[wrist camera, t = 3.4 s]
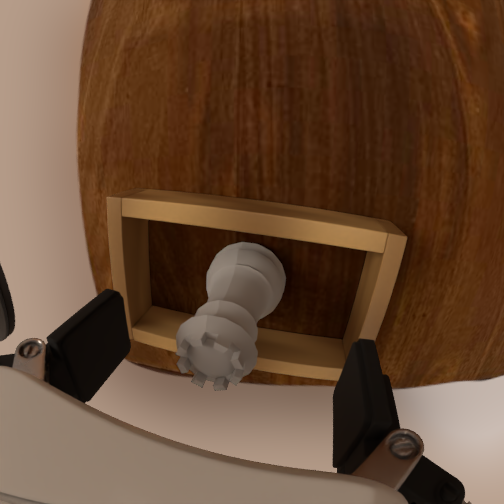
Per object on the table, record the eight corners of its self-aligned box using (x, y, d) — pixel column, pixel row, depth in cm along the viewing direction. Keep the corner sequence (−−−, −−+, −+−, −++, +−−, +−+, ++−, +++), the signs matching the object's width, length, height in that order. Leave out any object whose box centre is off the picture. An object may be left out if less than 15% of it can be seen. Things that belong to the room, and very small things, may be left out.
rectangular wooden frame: (141, 313, 20) (120, 336, 17) (135, 187, 16) (106, 196, 14) (352, 351, 18) (357, 382, 15) (390, 220, 15) (408, 236, 12)
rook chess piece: (206, 241, 17) (137, 312, 9) (283, 237, 16) (265, 314, 9) (218, 308, 18) (169, 399, 11) (288, 307, 17) (274, 409, 10)
